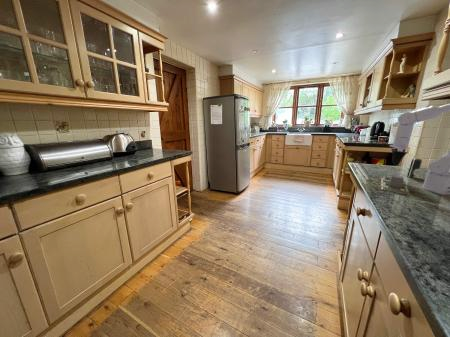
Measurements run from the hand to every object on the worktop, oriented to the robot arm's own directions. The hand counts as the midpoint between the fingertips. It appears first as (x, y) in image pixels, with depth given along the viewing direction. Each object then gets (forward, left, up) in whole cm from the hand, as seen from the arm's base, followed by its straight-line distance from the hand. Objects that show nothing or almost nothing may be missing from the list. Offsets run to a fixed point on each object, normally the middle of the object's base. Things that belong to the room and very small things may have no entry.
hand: (395, 163), depth 99 cm
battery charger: (+6, -18, -10) cm, 22 cm away
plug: (-14, +11, -9) cm, 20 cm away
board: (-10, +7, -10) cm, 15 cm away
